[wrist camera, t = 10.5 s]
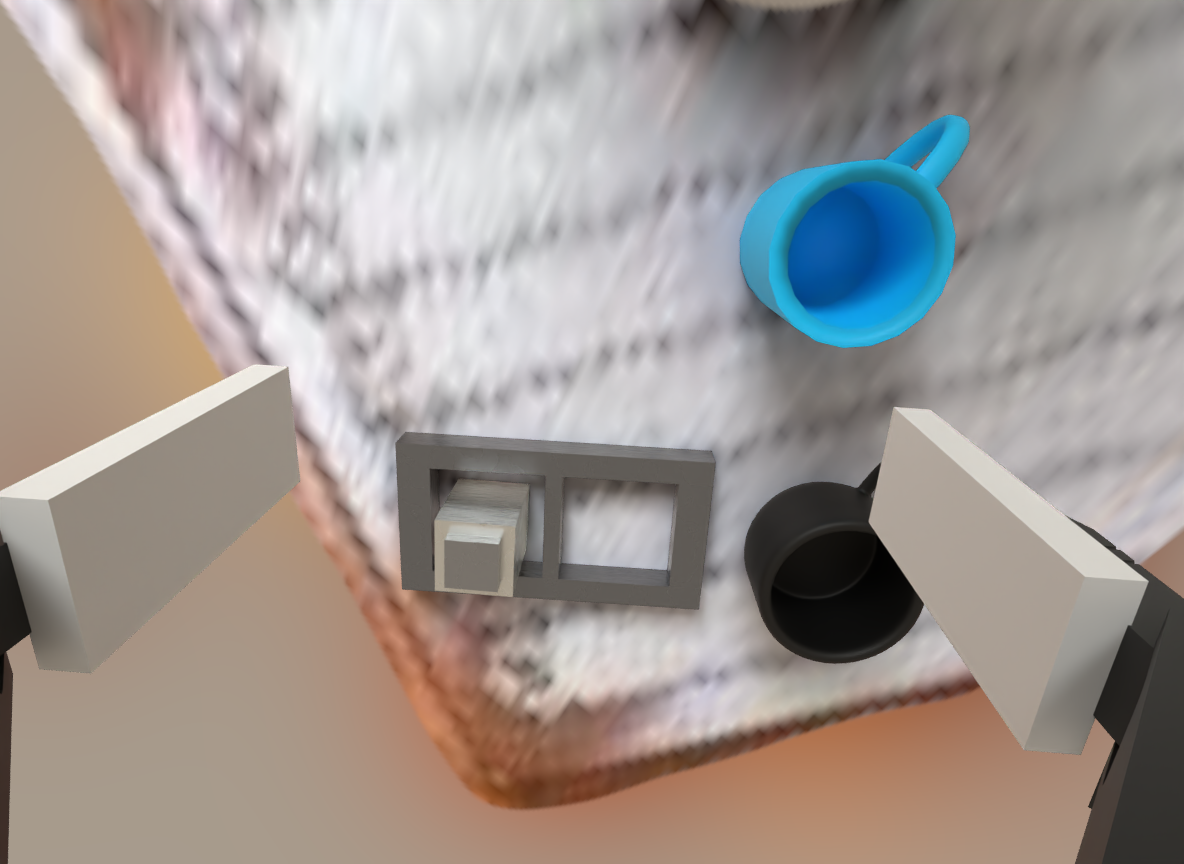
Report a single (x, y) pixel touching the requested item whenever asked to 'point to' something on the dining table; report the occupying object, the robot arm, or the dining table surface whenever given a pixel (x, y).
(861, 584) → the mug
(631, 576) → the grey window frame
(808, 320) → the mug
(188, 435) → the robot arm
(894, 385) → the dining table surface
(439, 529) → the beige square peg
